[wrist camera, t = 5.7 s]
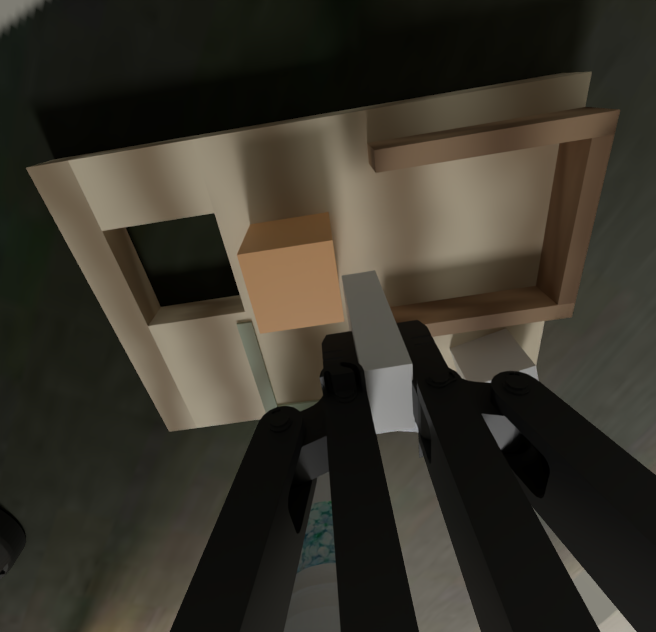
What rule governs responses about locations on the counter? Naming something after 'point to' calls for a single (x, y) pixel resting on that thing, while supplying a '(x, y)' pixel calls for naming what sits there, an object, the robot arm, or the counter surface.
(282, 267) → the cube
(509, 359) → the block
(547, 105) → the board
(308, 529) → the bottle
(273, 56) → the counter surface
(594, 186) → the cubby
